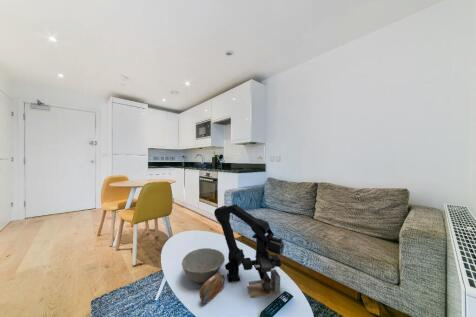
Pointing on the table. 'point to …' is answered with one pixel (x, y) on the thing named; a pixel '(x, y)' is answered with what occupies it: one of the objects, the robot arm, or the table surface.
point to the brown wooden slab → (212, 287)
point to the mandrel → (258, 289)
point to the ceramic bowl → (202, 264)
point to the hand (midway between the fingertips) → (261, 278)
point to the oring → (266, 283)
